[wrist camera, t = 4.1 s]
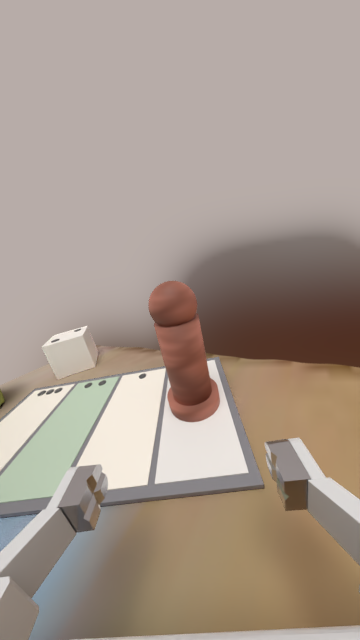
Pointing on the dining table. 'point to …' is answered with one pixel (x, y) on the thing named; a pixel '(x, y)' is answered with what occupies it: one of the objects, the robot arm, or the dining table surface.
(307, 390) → the dining table surface
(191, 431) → the game board
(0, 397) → the plant pot
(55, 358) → the die
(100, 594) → the dining table surface
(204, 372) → the pawn
